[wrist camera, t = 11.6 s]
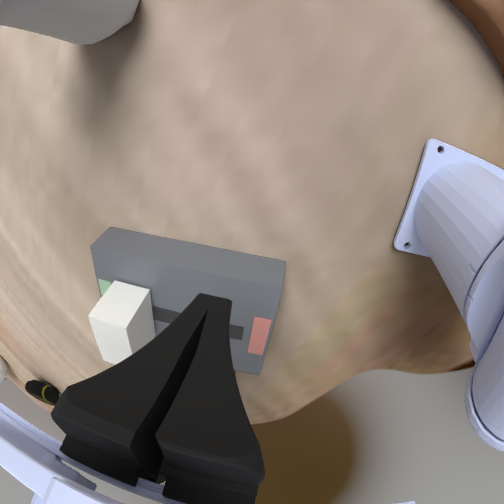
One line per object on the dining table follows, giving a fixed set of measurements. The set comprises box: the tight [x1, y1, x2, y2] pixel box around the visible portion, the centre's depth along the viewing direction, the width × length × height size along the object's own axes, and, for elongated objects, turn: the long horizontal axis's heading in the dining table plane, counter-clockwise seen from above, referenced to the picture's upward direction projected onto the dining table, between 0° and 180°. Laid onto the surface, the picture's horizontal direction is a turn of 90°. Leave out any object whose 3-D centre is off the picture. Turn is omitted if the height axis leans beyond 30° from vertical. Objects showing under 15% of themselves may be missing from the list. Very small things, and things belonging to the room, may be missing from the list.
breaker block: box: [90, 227, 286, 375], centre depth 23 cm, size 14×10×3 cm
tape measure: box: [25, 380, 59, 406], centre depth 44 cm, size 7×7×4 cm
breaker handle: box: [88, 280, 155, 365], centre depth 20 cm, size 3×5×4 cm, turn 172°
